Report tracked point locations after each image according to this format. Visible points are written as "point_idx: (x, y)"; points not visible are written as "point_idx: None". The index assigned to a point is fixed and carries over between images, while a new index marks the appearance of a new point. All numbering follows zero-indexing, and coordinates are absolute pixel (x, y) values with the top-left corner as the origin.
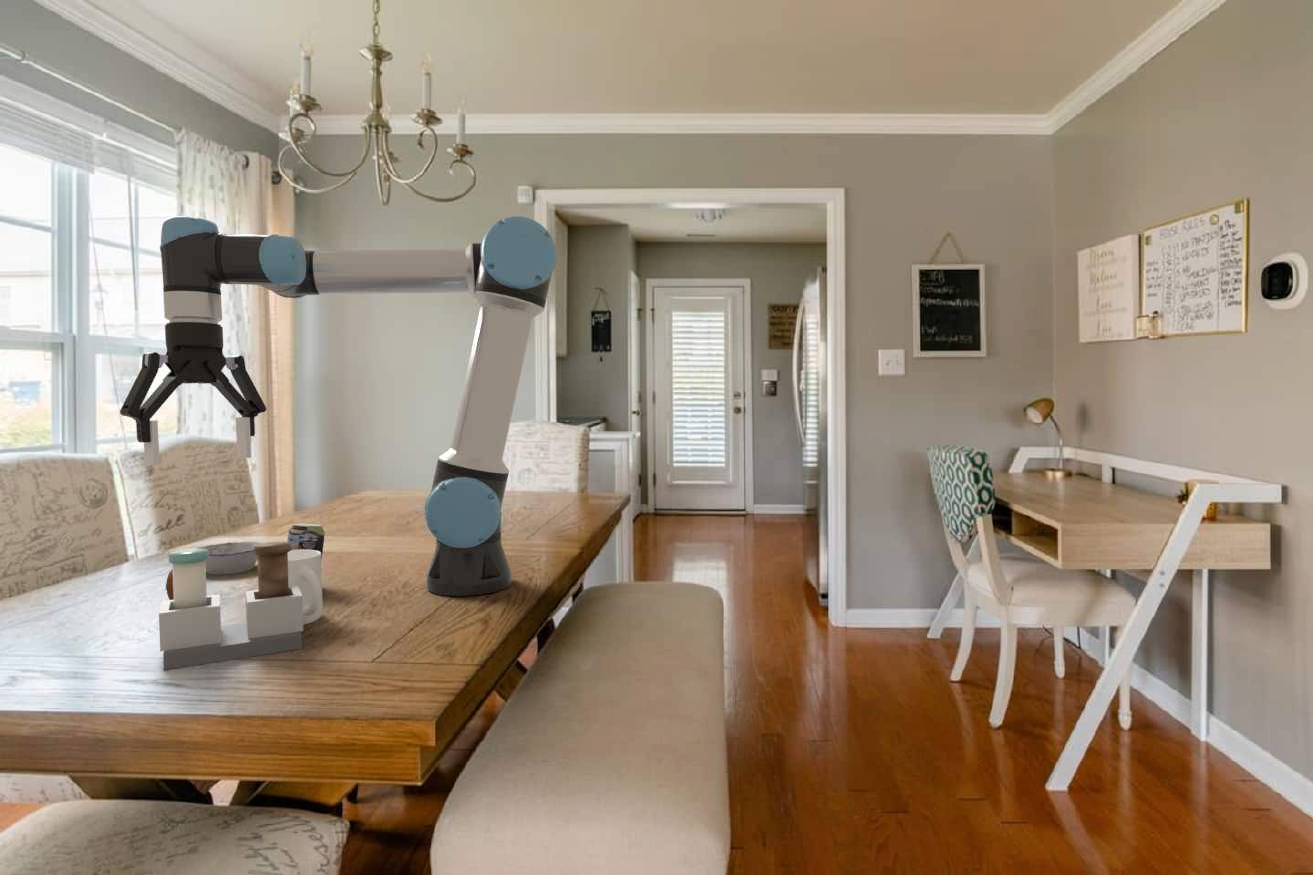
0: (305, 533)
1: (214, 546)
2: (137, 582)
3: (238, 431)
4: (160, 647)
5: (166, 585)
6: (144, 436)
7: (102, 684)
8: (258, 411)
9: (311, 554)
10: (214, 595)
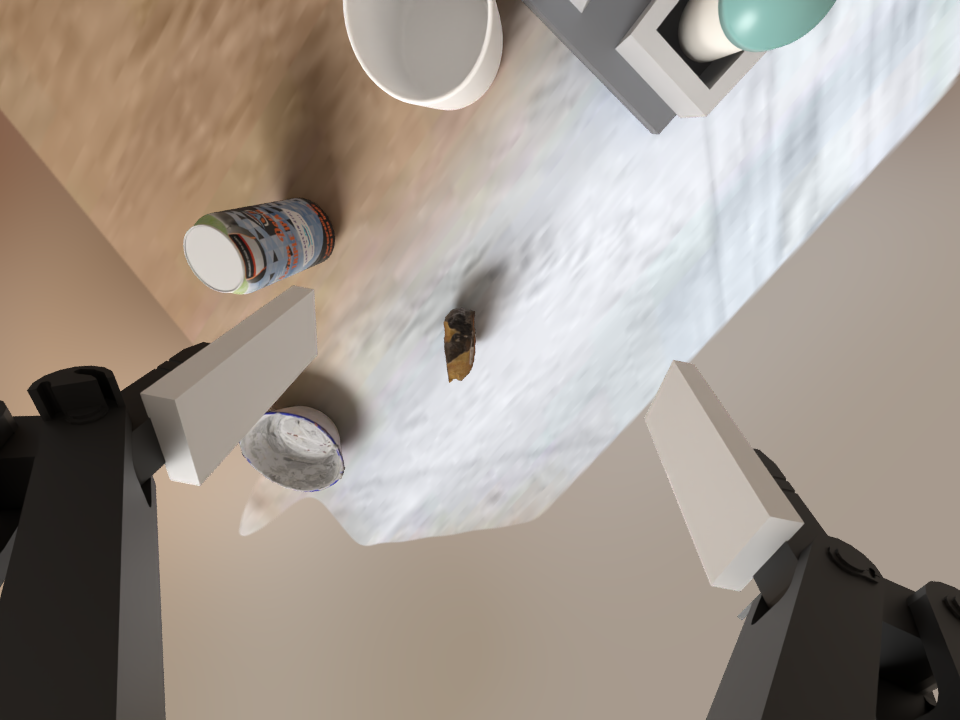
0: (245, 229)
1: (294, 485)
2: (416, 476)
3: (251, 408)
4: None
5: (471, 367)
6: (770, 470)
7: (847, 41)
8: (19, 428)
9: (353, 20)
10: (642, 36)
